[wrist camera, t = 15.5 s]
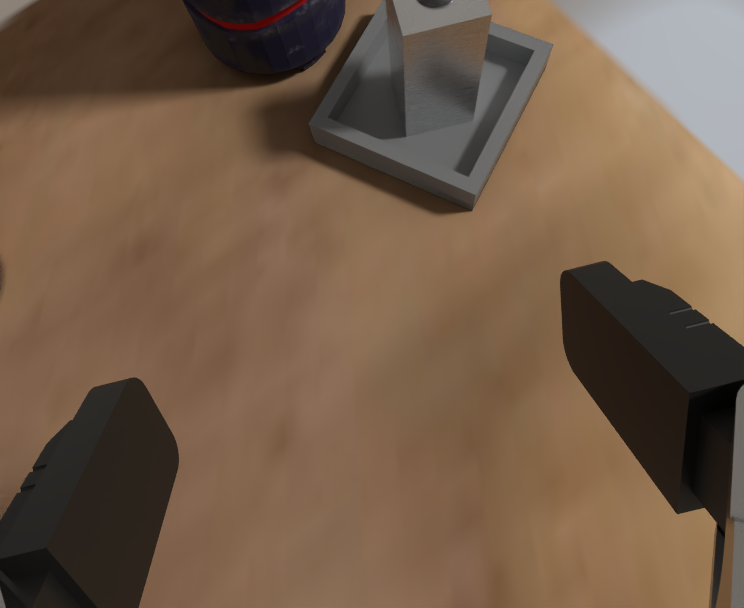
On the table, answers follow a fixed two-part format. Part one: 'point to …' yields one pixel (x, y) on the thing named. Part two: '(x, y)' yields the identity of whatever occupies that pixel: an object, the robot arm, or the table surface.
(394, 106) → the tray
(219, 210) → the table surface
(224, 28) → the grenade
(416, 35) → the grey tall block
